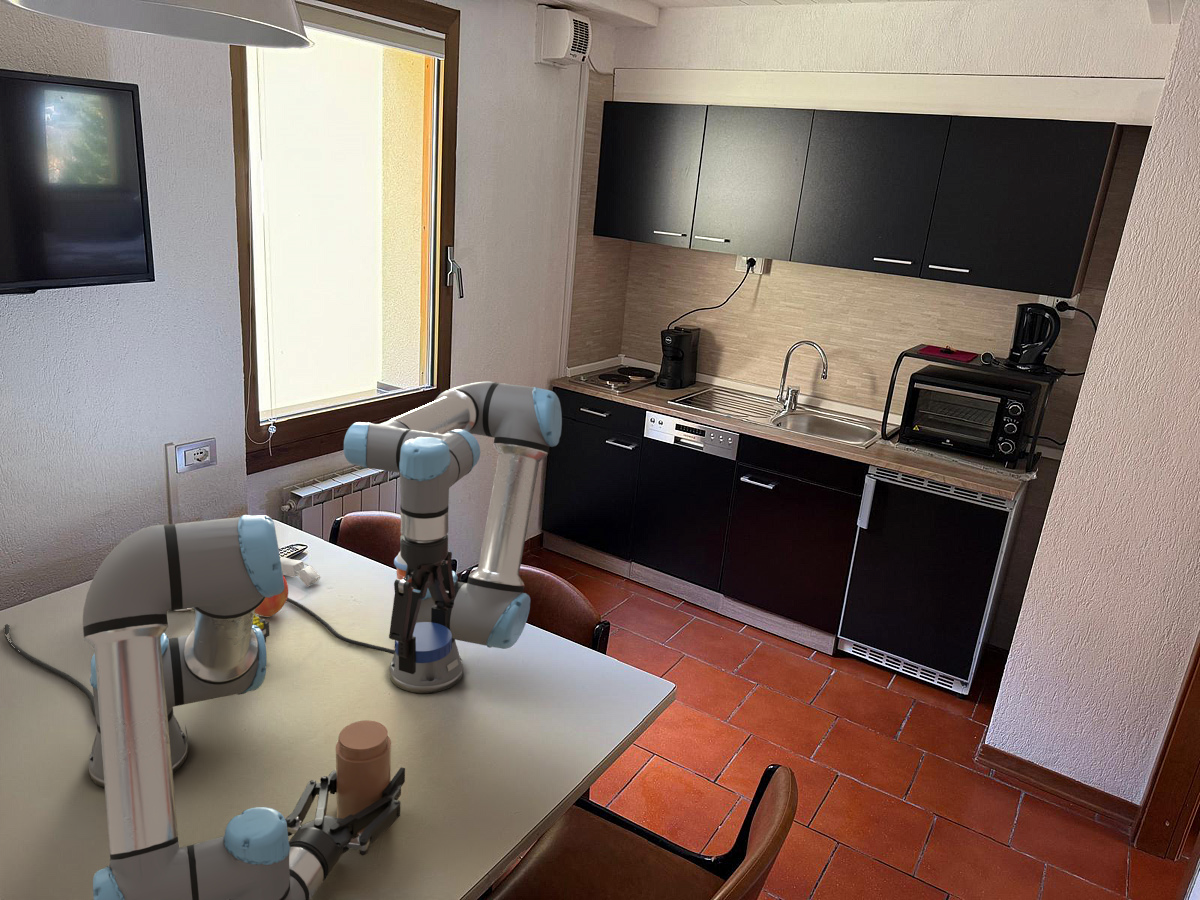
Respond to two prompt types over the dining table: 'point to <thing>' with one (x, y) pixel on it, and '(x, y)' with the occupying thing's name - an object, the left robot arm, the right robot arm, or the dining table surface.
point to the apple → (273, 603)
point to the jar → (361, 766)
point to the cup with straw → (400, 566)
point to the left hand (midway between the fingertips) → (377, 768)
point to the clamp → (299, 570)
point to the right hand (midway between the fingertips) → (423, 655)
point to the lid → (430, 642)
